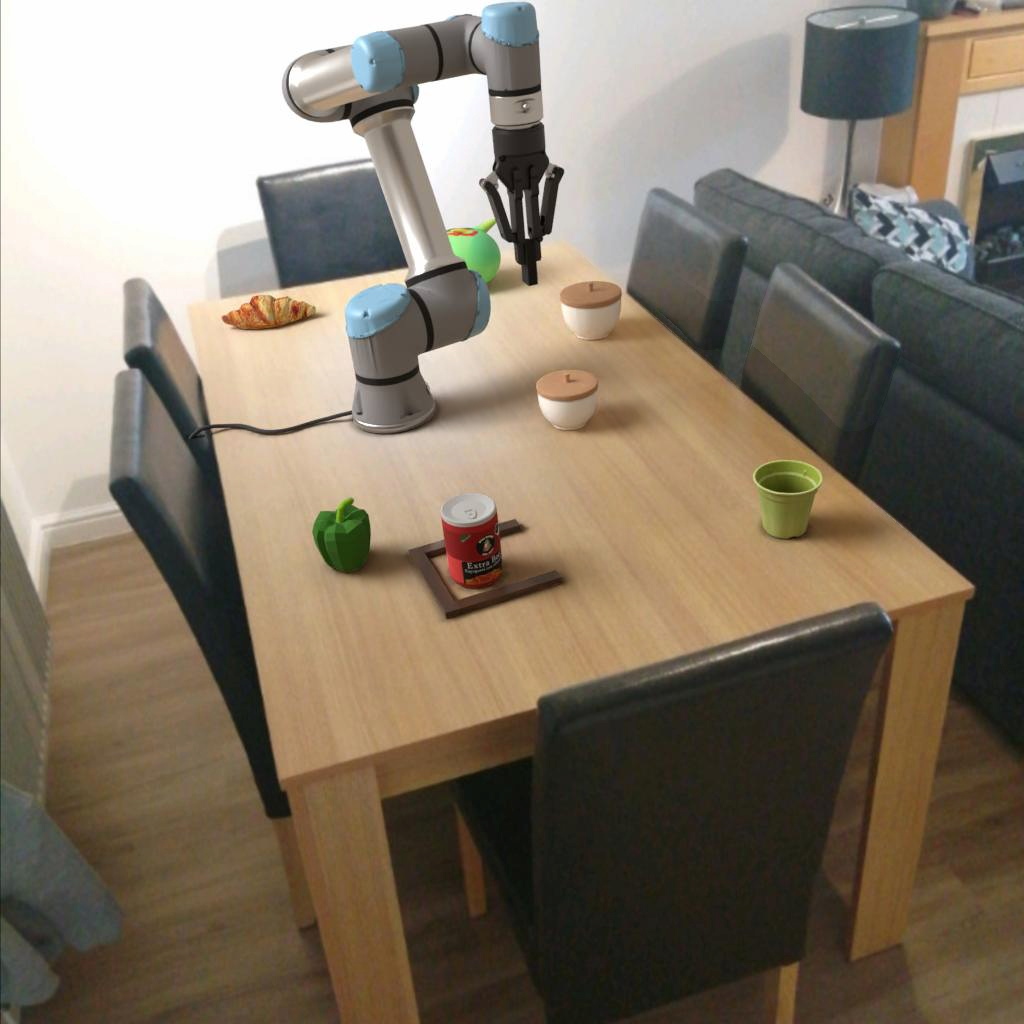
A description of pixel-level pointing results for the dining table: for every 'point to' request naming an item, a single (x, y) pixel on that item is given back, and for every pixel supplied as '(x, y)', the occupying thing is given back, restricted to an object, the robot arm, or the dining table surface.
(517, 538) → the dining table surface
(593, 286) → the lidded bowl
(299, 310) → the croissant
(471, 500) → the canned food
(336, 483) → the dining table surface
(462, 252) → the toy bird
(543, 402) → the trinket box
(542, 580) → the walnut frame
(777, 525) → the plant pot
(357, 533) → the bell pepper
